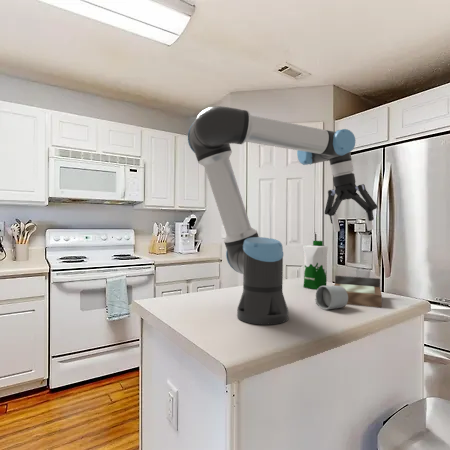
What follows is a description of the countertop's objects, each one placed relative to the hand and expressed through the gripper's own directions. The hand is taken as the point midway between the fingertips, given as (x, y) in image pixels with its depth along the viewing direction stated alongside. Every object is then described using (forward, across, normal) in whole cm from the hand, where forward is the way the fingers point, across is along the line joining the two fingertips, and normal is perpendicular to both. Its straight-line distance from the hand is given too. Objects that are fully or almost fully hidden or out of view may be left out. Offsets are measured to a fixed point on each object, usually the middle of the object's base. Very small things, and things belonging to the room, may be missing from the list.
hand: (353, 230), depth 120 cm
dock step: (+24, 0, +6) cm, 25 cm away
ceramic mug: (+21, -1, +23) cm, 31 cm away
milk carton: (+24, +22, +1) cm, 33 cm away
